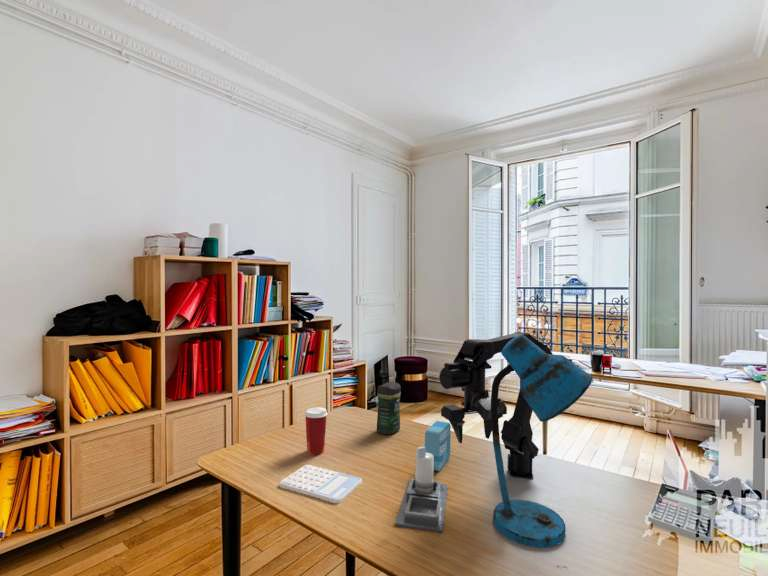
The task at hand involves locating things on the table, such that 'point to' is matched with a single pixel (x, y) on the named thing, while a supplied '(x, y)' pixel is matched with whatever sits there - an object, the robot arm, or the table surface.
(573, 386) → the desk lamp
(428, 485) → the plug
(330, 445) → the table surface
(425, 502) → the panel
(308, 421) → the paper cup
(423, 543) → the table surface
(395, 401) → the coffee jar
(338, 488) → the calculator
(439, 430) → the data package
